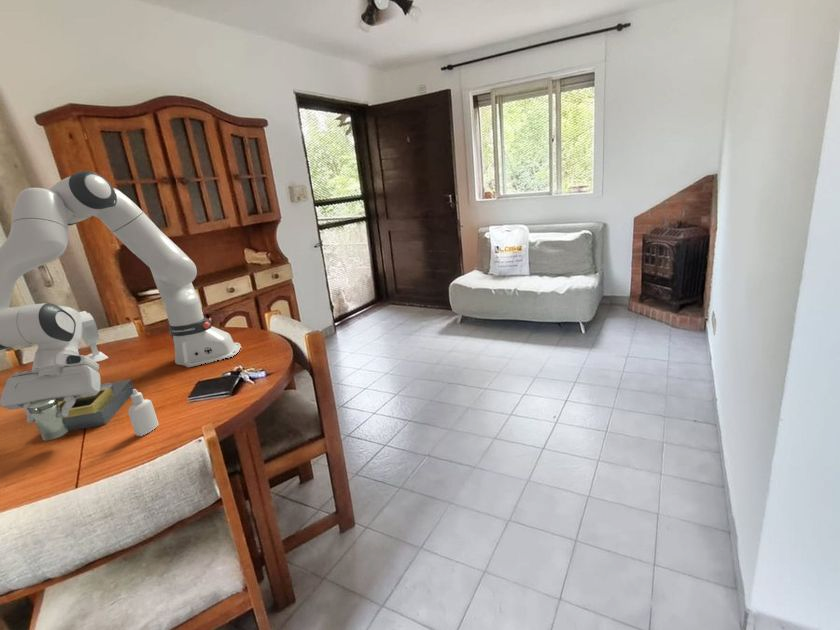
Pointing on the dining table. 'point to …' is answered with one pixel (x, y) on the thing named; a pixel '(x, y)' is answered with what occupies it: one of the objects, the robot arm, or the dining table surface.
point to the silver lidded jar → (48, 418)
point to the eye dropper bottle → (142, 414)
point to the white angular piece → (91, 336)
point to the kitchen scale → (98, 406)
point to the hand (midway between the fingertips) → (47, 419)
